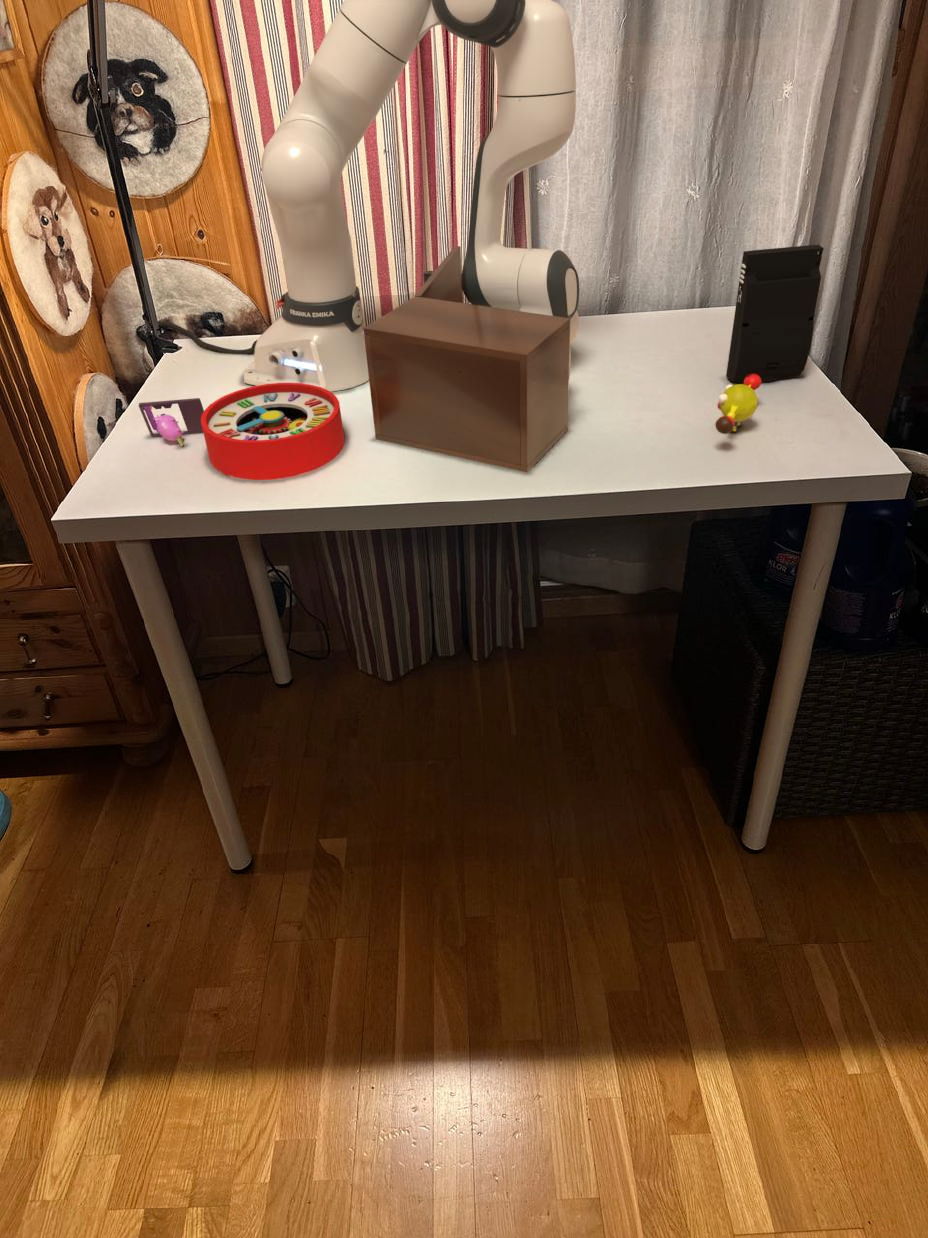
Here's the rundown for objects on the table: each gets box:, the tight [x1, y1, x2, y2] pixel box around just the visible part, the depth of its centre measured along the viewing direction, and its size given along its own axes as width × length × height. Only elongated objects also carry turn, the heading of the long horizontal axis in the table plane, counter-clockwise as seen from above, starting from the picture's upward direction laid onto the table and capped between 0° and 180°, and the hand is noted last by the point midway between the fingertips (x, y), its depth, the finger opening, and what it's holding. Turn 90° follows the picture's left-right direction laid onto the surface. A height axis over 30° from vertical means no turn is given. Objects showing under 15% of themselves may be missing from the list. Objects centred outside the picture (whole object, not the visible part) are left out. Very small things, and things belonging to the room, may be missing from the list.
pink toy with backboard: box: [138, 397, 205, 447], centre depth 138 cm, size 7×5×9 cm
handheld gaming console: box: [725, 244, 824, 384], centre depth 143 cm, size 12×5×20 cm, turn 98°
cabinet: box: [363, 295, 571, 473], centre depth 132 cm, size 14×25×17 cm, turn 61°
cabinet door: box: [414, 245, 464, 303], centre depth 153 cm, size 6×25×17 cm, turn 166°
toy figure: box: [715, 374, 763, 435], centre depth 133 cm, size 18×6×7 cm, turn 152°
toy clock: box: [201, 383, 345, 481], centre depth 135 cm, size 20×6×20 cm
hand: (478, 387), depth 135 cm, fingers closed on supplement bottle, 5 cm apart
